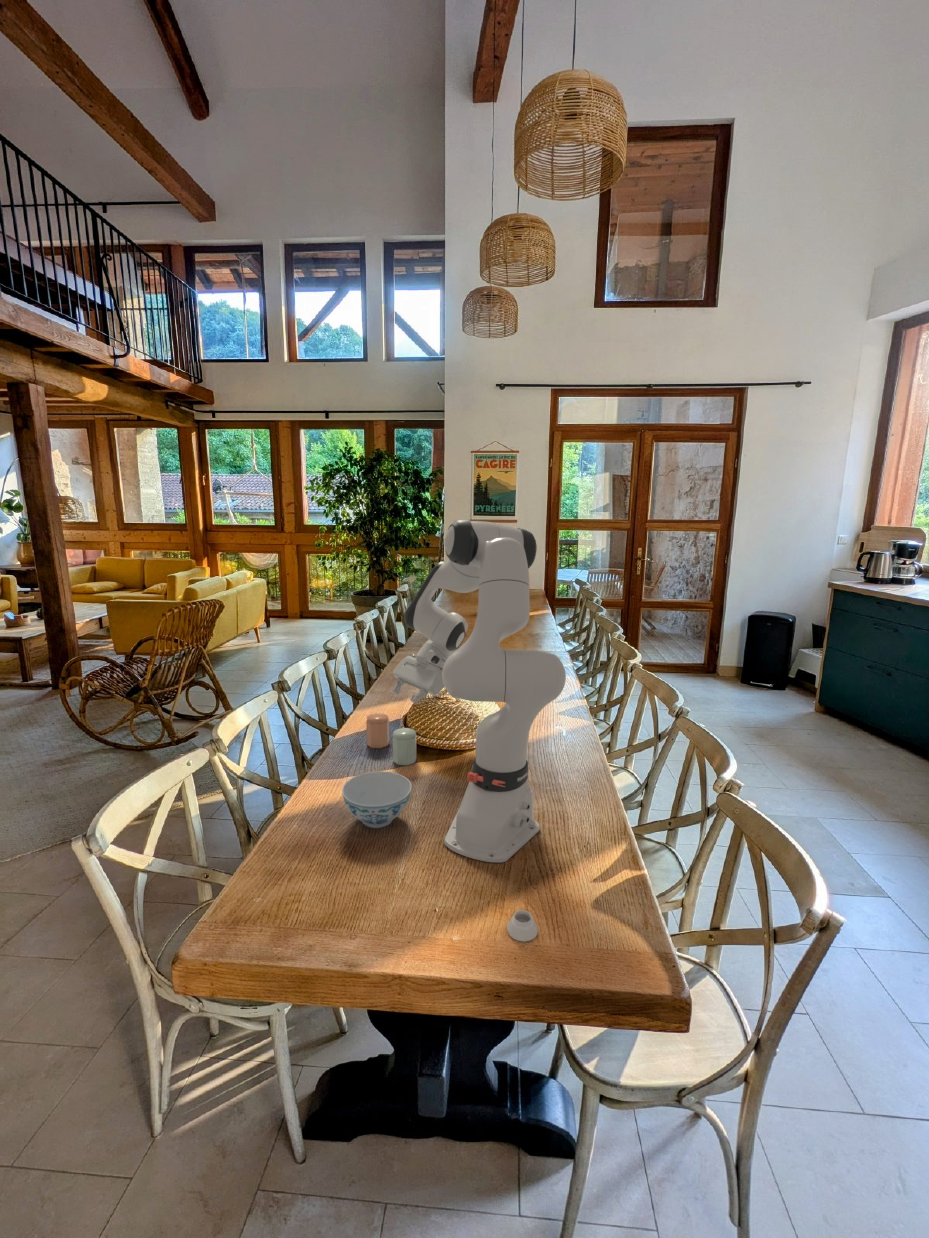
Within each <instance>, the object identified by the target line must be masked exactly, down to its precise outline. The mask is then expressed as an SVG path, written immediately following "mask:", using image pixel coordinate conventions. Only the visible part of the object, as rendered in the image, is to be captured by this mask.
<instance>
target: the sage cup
mask: <svg viewBox="0 0 929 1238" xmlns="http://www.w3.org/2000/svg"><path fill="white" fill-rule="evenodd" d="M416 761H417V731H416V730H415V729H412V728H409V727H401V728H398V729H395V730H394V731H393V734H392V762H393V763H394V764H396V765H398V766H410V765H413V764H415V763H416Z"/></svg>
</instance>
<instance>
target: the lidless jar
mask: <svg viewBox="0 0 929 1238" xmlns="http://www.w3.org/2000/svg"><path fill="white" fill-rule="evenodd" d="M538 929H539V928H538V926H537V924H536V922H535V919H534V918H533V916H532V914H531V913H530V912H529V911H527V910H526V909H525V910H523V909H518V910H517V911H515V912H514V914H513V915H512V916H511V917H510V919H509V921H508V922H507V923H506V931H507V934H508V935H509V936H510V937H511V938H512V939H513V940H515V941H518V942H530V941H532V940H534V939H535V938H536V937H537V936H538Z"/></svg>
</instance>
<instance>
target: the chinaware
mask: <svg viewBox="0 0 929 1238" xmlns="http://www.w3.org/2000/svg"><path fill="white" fill-rule="evenodd" d="M412 789H413V788H412V782H411V781H410V780H409V779H408V778H407V777H406V776H403V774H399V773H397V772H393V771H383V770H382V771H370V772H365V773H361V774H358V775H355V776H354V777H351V778H350V779H349V780H347V781H346V782H345V783H344V784H343V786H342V790H341V793H342V798H343V801H344V804H345V806H346V808H347V810H348V811H349V813H350V814H352V816H353V817H355V819H357V820H359V821H361V822H362V824H363V825H365V826H366V827H369V828H373V829H379V828H384V827H386V826H389V825H390V824H391V823H393V821H394V819H395V818H397V817H398V816H399V815H400V814H401V813H402V812H404V810H405V808H406V806H407V804H408V803H409V801H410V798H411V793H412Z"/></svg>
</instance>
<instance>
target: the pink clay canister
mask: <svg viewBox="0 0 929 1238" xmlns="http://www.w3.org/2000/svg"><path fill="white" fill-rule="evenodd" d="M365 723H366V725H365V726H366V746H368V747H369V748H371V749H381V748H384V747H387V746H388V745H389V743H390V718H389V716H388V715H387V714H385V713H371V714H370V715H367V716H366V721H365Z"/></svg>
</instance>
